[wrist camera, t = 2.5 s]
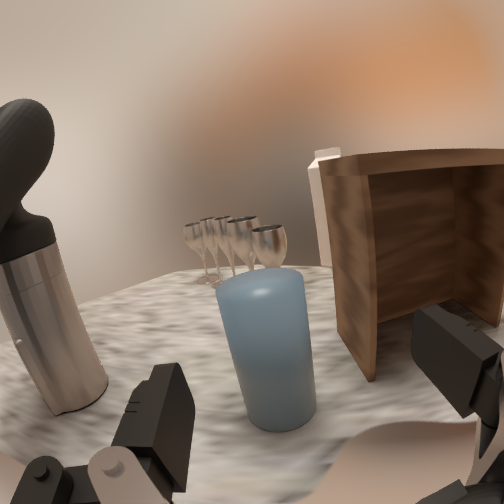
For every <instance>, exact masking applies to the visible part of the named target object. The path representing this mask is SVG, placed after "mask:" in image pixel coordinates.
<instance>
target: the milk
mask: <svg viewBox="0 0 504 504" xmlns="http://www.w3.org/2000/svg"><path fill="white" fill-rule="evenodd" d="M339 157H343V156H342V155H341V151H340V148H339V147H334V148H328V149H322V150H317V151H315V160H314V161H313V163H312V164H311V165H310V166H309V167H308V174H309V180H310V187H311V193H312V199H313V206H314V213H315V219H316V227H317V235H318V242H319V250H320V259H321V266H327V267H332V260H331V250H330V242H329V233H328V225H327V218H326V210H325V203H324V196H323V190H322V183H321V177H320V171H319V165H318V161H322V160H328V159H334V158H339Z"/></svg>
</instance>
